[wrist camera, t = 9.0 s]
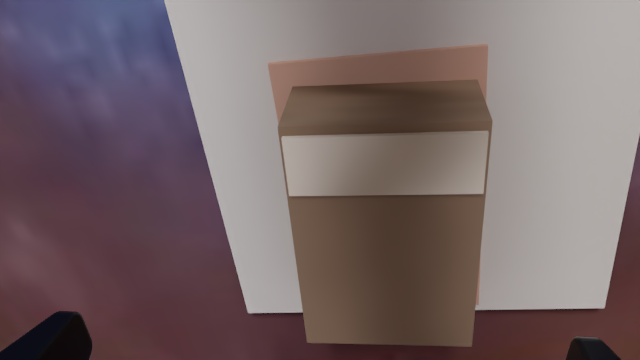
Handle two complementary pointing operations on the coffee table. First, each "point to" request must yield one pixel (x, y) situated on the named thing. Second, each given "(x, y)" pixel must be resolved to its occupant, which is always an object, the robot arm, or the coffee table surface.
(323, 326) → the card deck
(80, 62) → the coffee table surface
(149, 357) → the coffee table surface
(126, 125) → the coffee table surface
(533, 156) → the mat
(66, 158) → the coffee table surface
